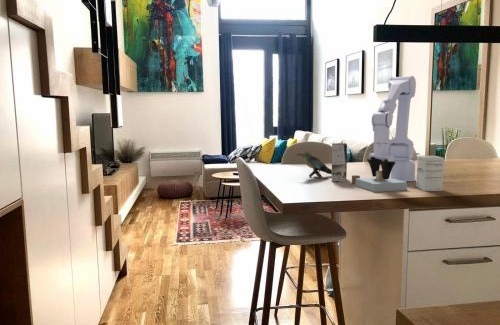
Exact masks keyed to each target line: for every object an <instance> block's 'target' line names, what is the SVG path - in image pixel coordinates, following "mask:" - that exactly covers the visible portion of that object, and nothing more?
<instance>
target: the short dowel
mask: <svg viewBox="0 0 500 325" xmlns="http://www.w3.org/2000/svg"><path fill="white" fill-rule="evenodd" d="M356 178H361V175H358V174H356V175H351V185H353V184H355V180H356Z"/></svg>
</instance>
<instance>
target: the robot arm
mask: <svg viewBox="0 0 500 325" xmlns="http://www.w3.org/2000/svg"><path fill="white" fill-rule="evenodd" d="M387 88H388V94H387V97H386V98H384V99H383V100H382V101H381V104H380V105H379V107H378V109H377V111H376V112H374V113H373V114H372V115H371V116H372V117H371V125H372V132H373V152H369V153H368V154H369V155H368V158H367V160H366V161H367V162H368V165H369V168H370V170H371V175H372V178H373V177H376V171H380V168H381V171H382V177H383V179H384V180H385V179H389V178H393V179H397V180H401V181H405V182H417V179H416V164H415V161H414V160H412V159H413V158H414V154H415V148H414V144H415V143H414V142H413V140H411V139H410V138H409V137H408V133H409V132H408V131H409V130H408V129H409V123H410V122H409V120H410V111H411V110H410V107H411V100H412V98H414V97H415V95H416V88H417V82H416V78H415V76H414V75H409V76H408V75H407V76H391V77H390V78H389V79H388V84H387ZM397 101H398V102H397ZM396 108H397V114H396V124H395V135H394V137H393V138H391V139H390V131H391V130H390V127H392V124H393V119H394V113H395V110H396Z"/></svg>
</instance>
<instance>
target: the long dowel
mask: <svg viewBox="0 0 500 325" xmlns="http://www.w3.org/2000/svg"><path fill="white" fill-rule="evenodd" d="M376 181H384V179H383V177H382V170H379V171H376Z"/></svg>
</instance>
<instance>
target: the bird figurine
mask: <svg viewBox="0 0 500 325" xmlns="http://www.w3.org/2000/svg"><path fill="white" fill-rule="evenodd" d="M296 156H300V157H301V158H302V159H303V160H304V164H305V165H306V166H308V168H310V169H312V170H313V171H312V172H311V173H309V175H308V176H309V178H312V176H314V175H316V177H317V178H318V179H320V180H321V179H323V176H322V174H321V173H320V172H323V173H325V174H328V175H332V168H330V167H328V166H327V165H326V164H325V163H324V162H322V160H321V159H320V158H318V157H317V156H314V155H313V154H311V153H310V152H308V151H306V150H304V151H302V152H299V153H297V154H296Z"/></svg>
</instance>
